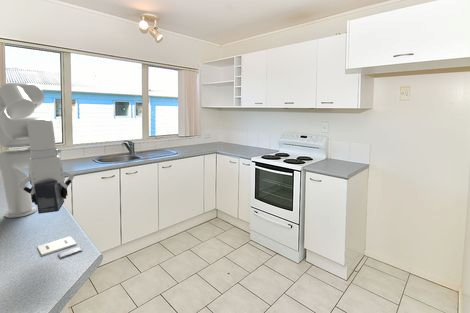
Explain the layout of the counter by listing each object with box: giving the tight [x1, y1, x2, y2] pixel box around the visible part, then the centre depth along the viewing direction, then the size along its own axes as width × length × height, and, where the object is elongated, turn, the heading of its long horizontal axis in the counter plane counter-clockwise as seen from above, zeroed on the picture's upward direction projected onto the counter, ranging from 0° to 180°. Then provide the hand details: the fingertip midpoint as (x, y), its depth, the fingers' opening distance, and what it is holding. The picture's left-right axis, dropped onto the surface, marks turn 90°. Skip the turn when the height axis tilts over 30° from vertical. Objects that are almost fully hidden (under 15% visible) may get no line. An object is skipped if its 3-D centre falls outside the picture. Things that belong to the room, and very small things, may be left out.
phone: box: [57, 246, 83, 260], centre depth 99 cm, size 4×7×1 cm, turn 137°
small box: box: [34, 180, 65, 215], centre depth 100 cm, size 11×6×10 cm, turn 22°
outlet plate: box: [37, 236, 77, 256], centre depth 104 cm, size 8×11×1 cm
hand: (50, 200), depth 100 cm, fingers closed on small box, 8 cm apart
